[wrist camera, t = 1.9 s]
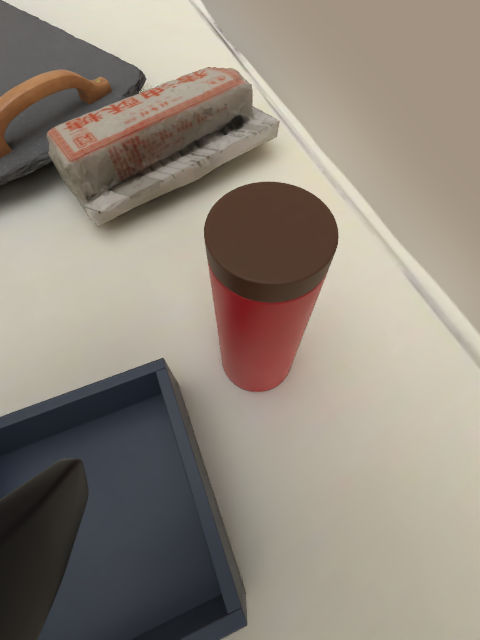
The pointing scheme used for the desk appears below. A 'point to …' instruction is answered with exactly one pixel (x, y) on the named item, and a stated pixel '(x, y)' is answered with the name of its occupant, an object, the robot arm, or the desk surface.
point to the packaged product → (157, 140)
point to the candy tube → (266, 276)
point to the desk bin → (131, 512)
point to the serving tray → (49, 86)
